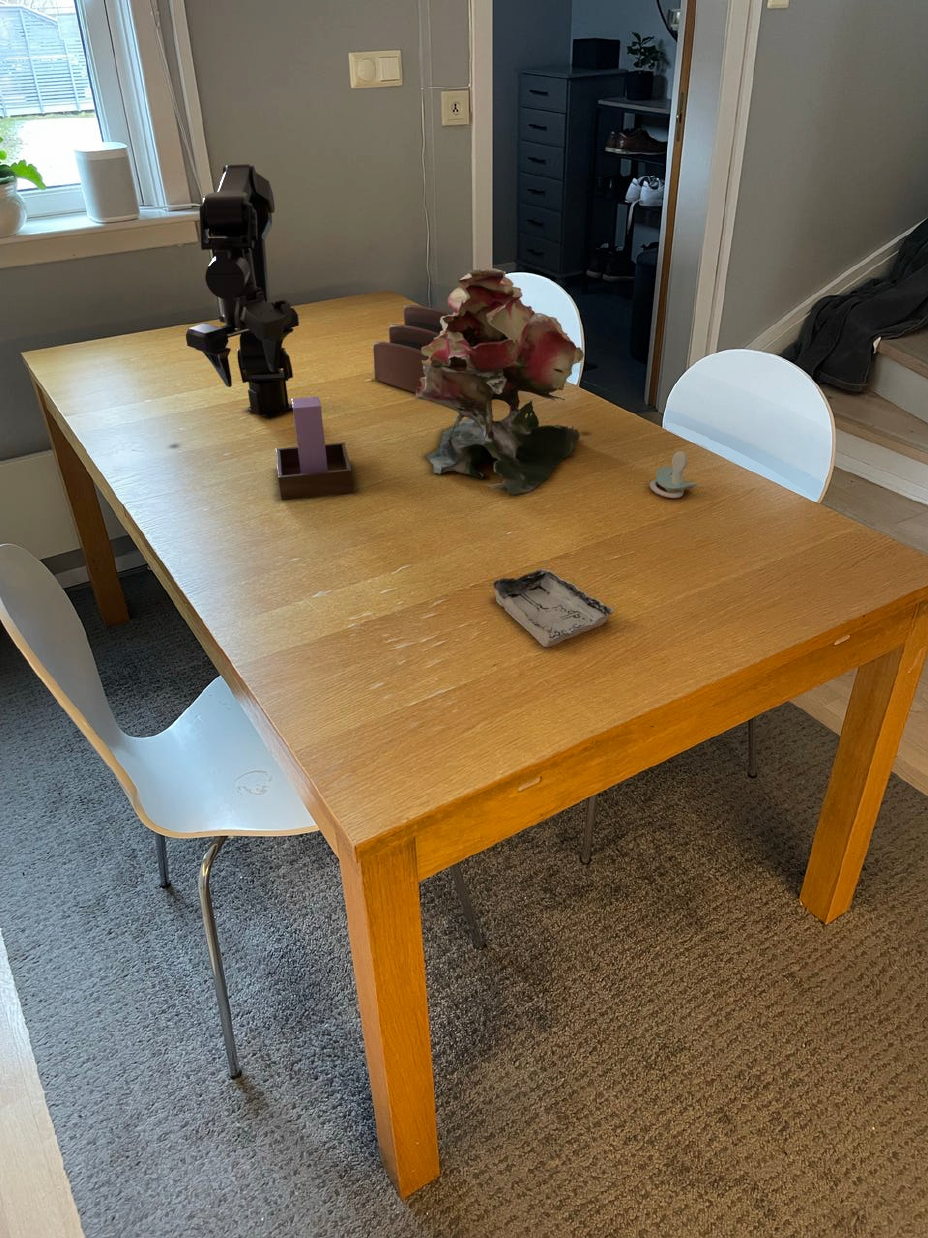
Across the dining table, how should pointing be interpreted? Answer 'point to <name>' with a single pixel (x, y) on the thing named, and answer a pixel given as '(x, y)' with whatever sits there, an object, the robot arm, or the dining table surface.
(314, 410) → the block
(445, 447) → the rose bouquet
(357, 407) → the dining table surface
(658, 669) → the dining table surface
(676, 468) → the pacifier
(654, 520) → the dining table surface
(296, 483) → the tray
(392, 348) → the letter holder
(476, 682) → the dining table surface
